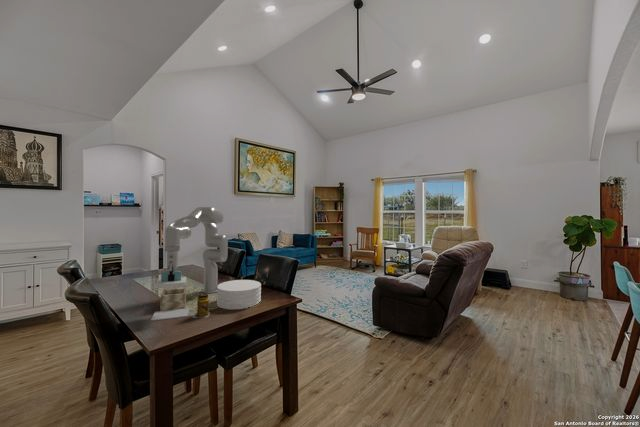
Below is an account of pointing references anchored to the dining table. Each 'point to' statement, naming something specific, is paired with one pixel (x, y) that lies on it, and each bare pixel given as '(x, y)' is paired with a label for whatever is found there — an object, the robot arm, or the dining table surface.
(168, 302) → the crate
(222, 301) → the plate stack
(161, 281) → the lid
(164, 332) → the dining table surface
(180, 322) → the dining table surface
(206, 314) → the condiment
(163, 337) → the dining table surface
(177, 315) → the mat
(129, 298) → the dining table surface
